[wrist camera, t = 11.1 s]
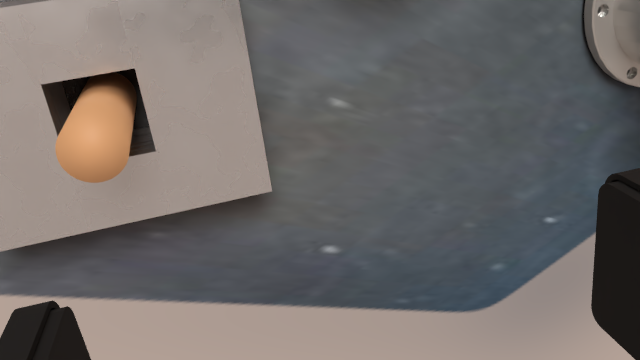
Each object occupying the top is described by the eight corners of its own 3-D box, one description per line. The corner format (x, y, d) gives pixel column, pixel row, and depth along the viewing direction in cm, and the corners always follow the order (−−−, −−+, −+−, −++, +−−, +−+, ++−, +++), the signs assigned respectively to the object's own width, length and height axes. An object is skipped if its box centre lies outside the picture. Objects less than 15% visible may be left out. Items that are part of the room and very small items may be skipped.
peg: (129, 67, 34) (119, 110, 25) (142, 116, 35) (136, 174, 26) (76, 76, 33) (45, 124, 24) (91, 126, 35) (67, 189, 26)
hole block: (223, -31, 33) (234, -27, 29) (258, 162, 38) (272, 191, 34) (-81, 14, 30) (-122, 25, 26) (-1, 216, 35) (-24, 256, 31)
